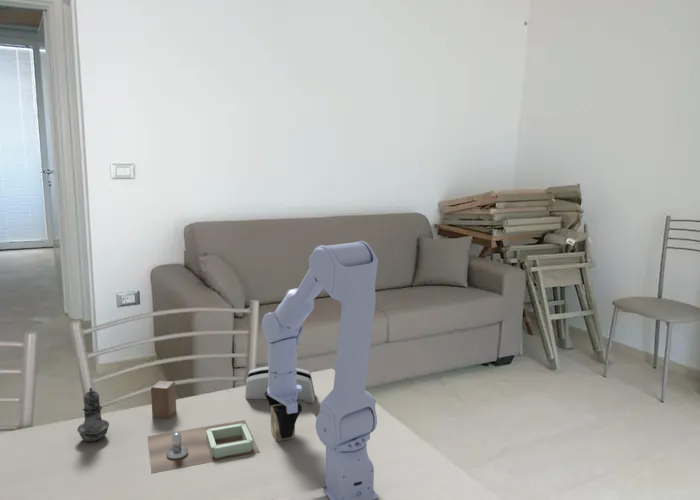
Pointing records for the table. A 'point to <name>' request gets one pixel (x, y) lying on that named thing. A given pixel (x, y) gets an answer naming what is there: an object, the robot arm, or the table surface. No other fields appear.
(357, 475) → the robot arm
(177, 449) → the metal post
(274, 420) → the maple peg
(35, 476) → the table surface
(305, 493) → the table surface
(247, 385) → the white rounded block
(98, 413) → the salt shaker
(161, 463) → the walnut board
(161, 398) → the wooden block
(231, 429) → the socket collar
